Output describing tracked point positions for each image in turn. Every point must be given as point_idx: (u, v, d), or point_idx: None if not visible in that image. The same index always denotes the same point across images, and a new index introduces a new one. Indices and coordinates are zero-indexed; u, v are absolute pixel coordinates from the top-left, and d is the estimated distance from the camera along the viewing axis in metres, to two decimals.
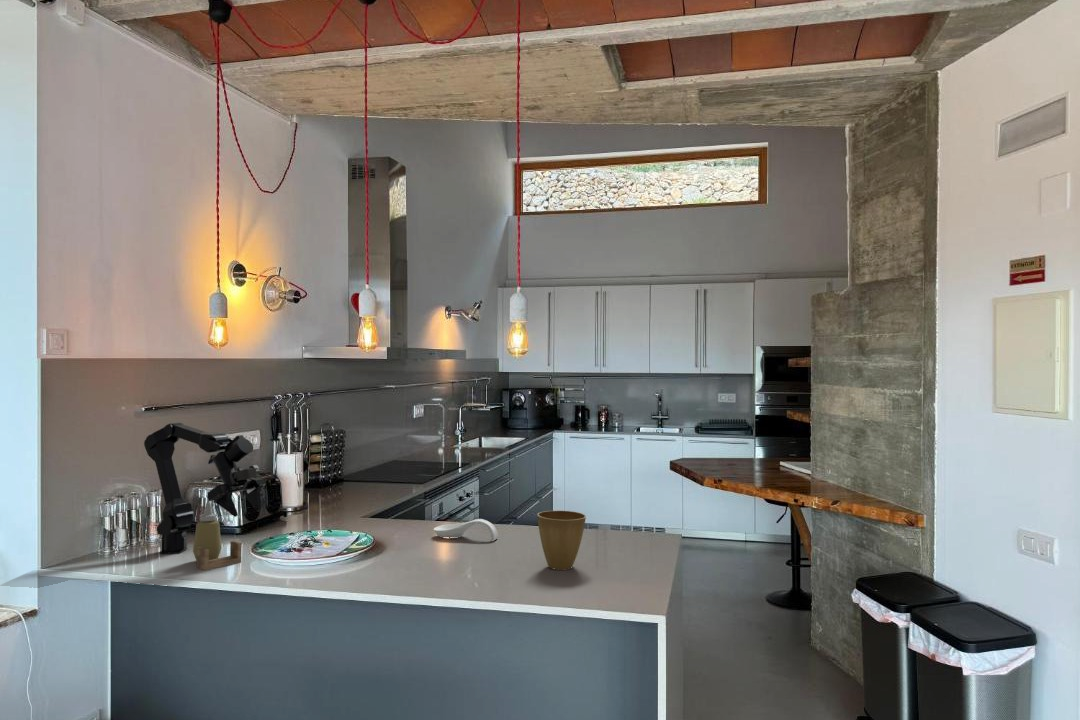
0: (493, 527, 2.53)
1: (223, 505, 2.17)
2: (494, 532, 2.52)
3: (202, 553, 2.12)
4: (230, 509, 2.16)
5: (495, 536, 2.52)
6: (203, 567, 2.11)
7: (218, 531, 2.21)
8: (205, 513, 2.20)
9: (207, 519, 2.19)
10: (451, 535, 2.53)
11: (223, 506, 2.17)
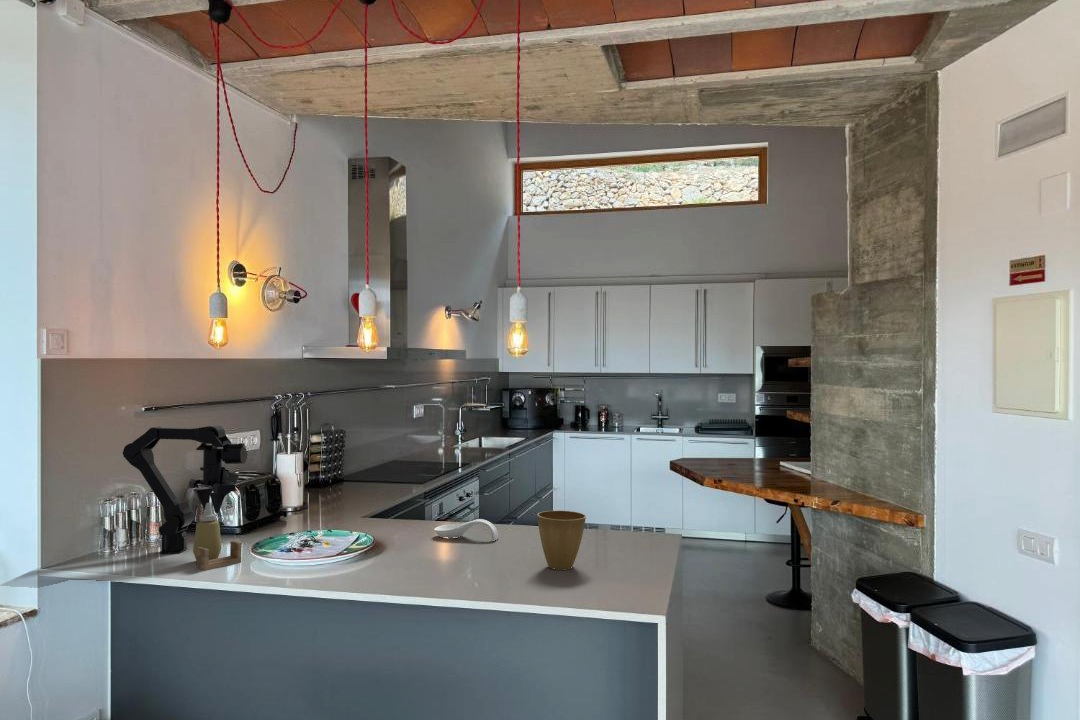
0: (494, 527, 2.53)
1: (215, 499, 2.29)
2: (495, 532, 2.52)
3: (202, 553, 2.12)
4: (218, 505, 2.31)
5: (496, 536, 2.52)
6: (203, 567, 2.11)
7: (218, 531, 2.21)
8: (205, 513, 2.20)
9: (207, 519, 2.19)
10: (451, 535, 2.52)
11: (215, 500, 2.29)
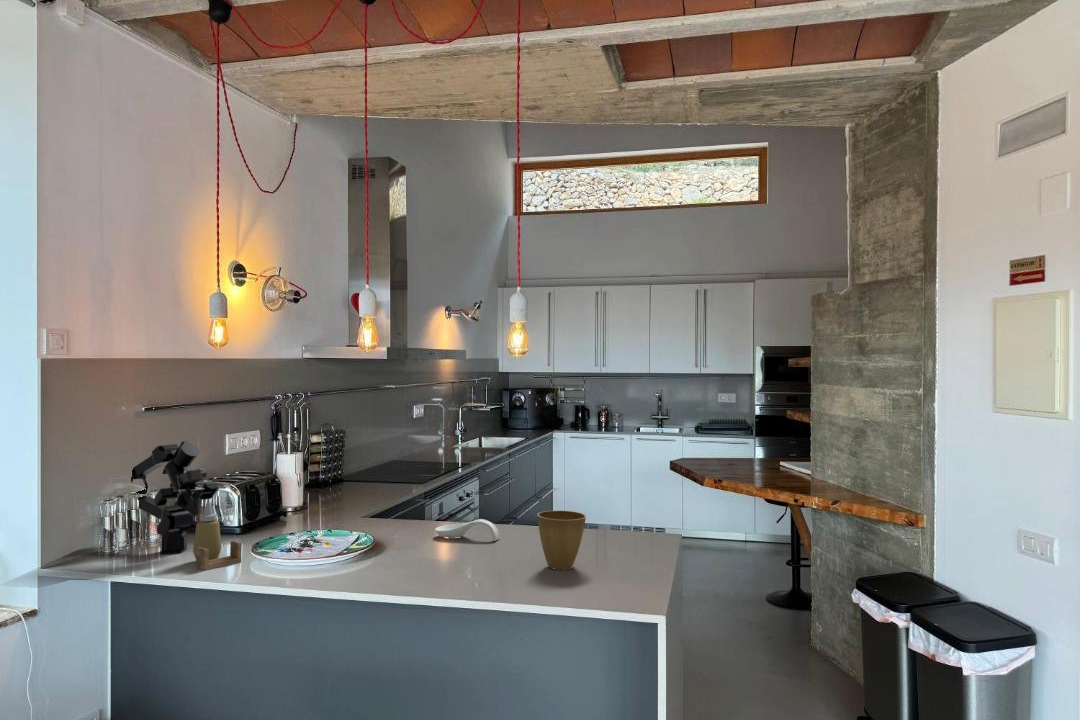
0: (494, 527, 2.53)
1: (184, 506, 2.26)
2: (495, 532, 2.51)
3: (202, 553, 2.12)
4: (190, 509, 2.25)
5: (496, 536, 2.51)
6: (203, 567, 2.11)
7: (218, 531, 2.21)
8: (205, 513, 2.20)
9: (207, 519, 2.19)
10: (452, 535, 2.52)
11: (184, 507, 2.26)
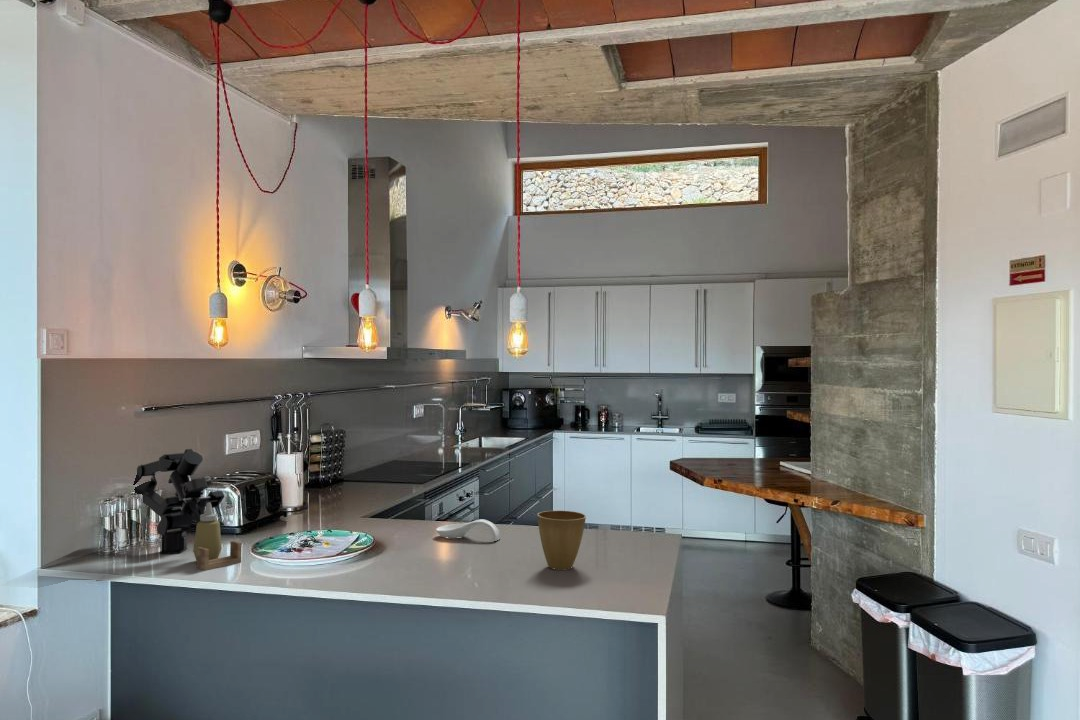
0: (495, 527, 2.53)
1: (189, 515, 2.24)
2: (496, 532, 2.51)
3: (202, 553, 2.12)
4: (195, 518, 2.23)
5: (497, 537, 2.51)
6: (203, 567, 2.11)
7: (218, 531, 2.21)
8: (205, 513, 2.20)
9: (207, 519, 2.19)
10: (453, 535, 2.52)
11: (189, 516, 2.24)
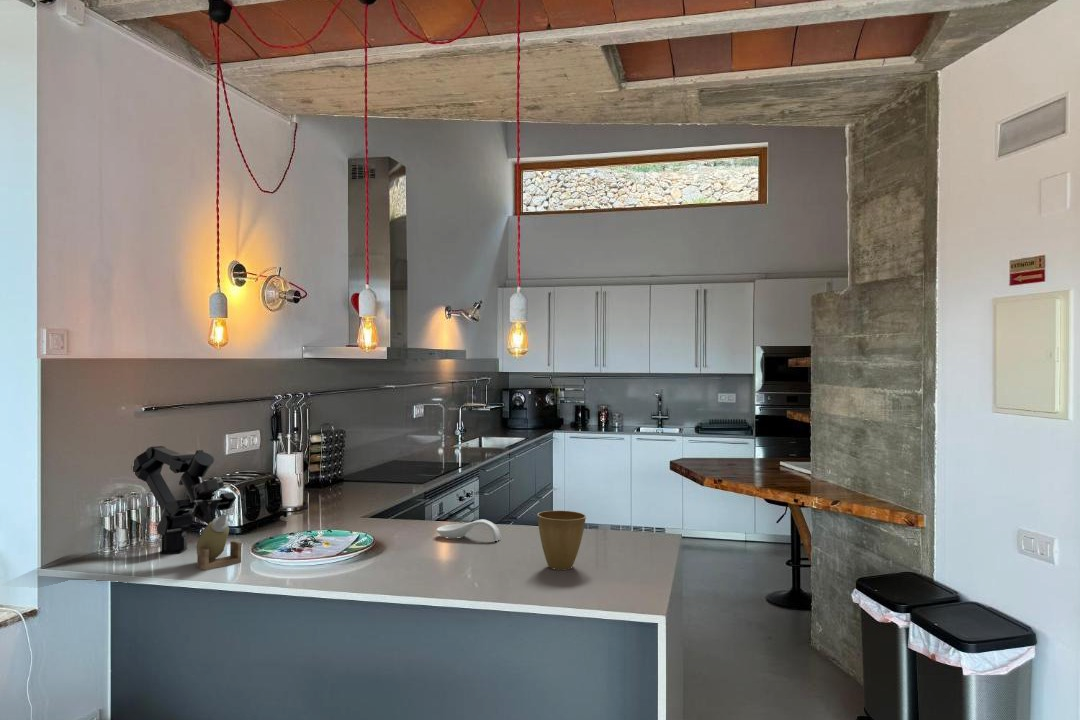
0: (495, 528, 2.52)
1: (201, 517, 2.20)
2: (496, 533, 2.51)
3: (202, 553, 2.12)
4: (207, 520, 2.19)
5: (497, 537, 2.51)
6: (203, 567, 2.11)
7: (225, 539, 2.17)
8: (218, 523, 2.13)
9: (218, 530, 2.13)
10: (453, 535, 2.52)
11: (201, 518, 2.20)
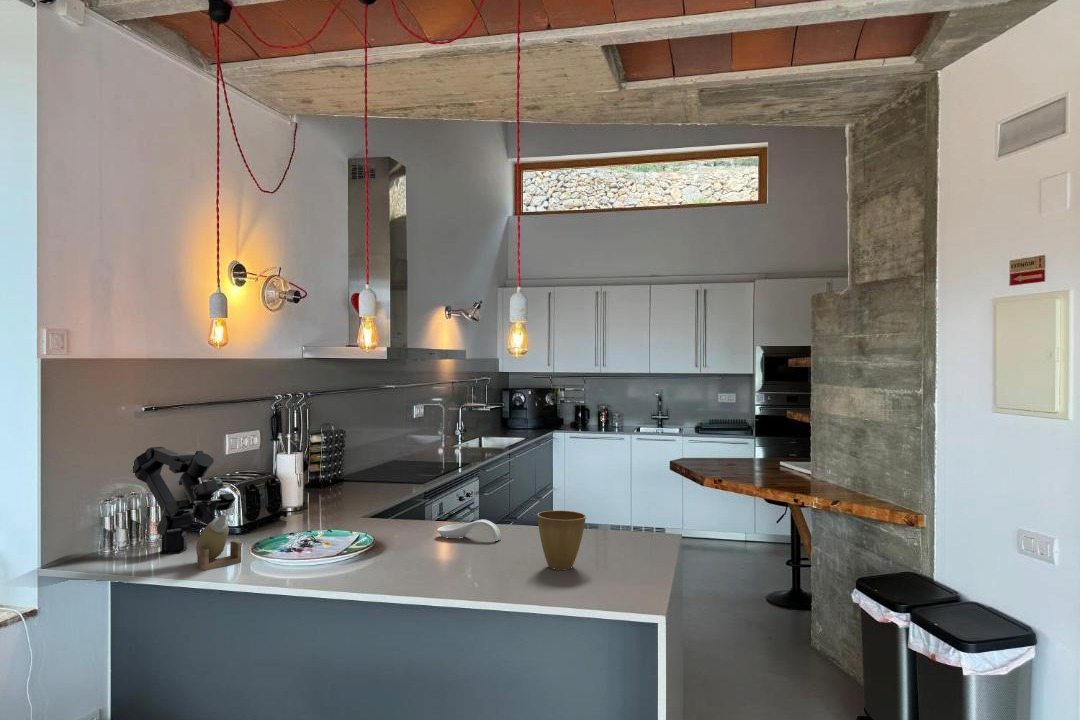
0: (496, 528, 2.52)
1: (200, 518, 2.20)
2: (497, 533, 2.51)
3: (202, 553, 2.12)
4: (206, 521, 2.19)
5: (498, 537, 2.51)
6: (203, 567, 2.11)
7: (225, 539, 2.17)
8: (218, 523, 2.13)
9: (218, 531, 2.13)
10: (454, 535, 2.52)
11: (200, 519, 2.20)
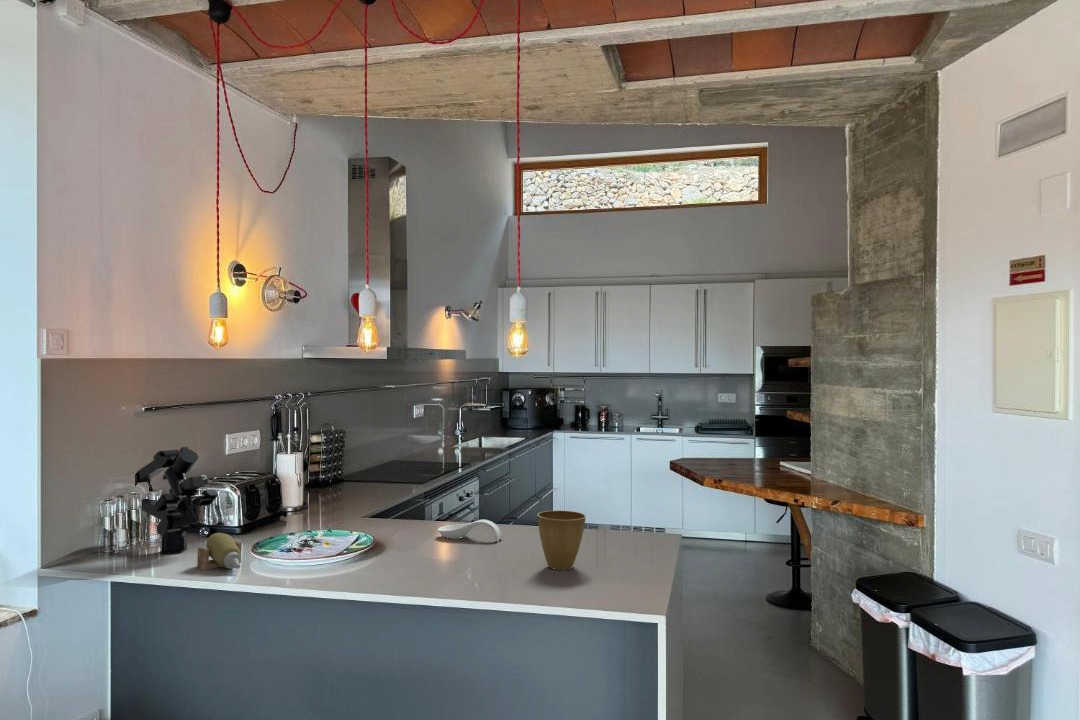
0: (497, 528, 2.52)
1: (184, 512, 2.26)
2: (498, 533, 2.51)
3: (202, 553, 2.12)
4: (190, 515, 2.26)
5: (499, 537, 2.51)
6: (203, 567, 2.11)
7: None
8: (230, 563, 2.09)
9: (226, 566, 2.10)
10: (455, 535, 2.52)
11: (184, 513, 2.26)
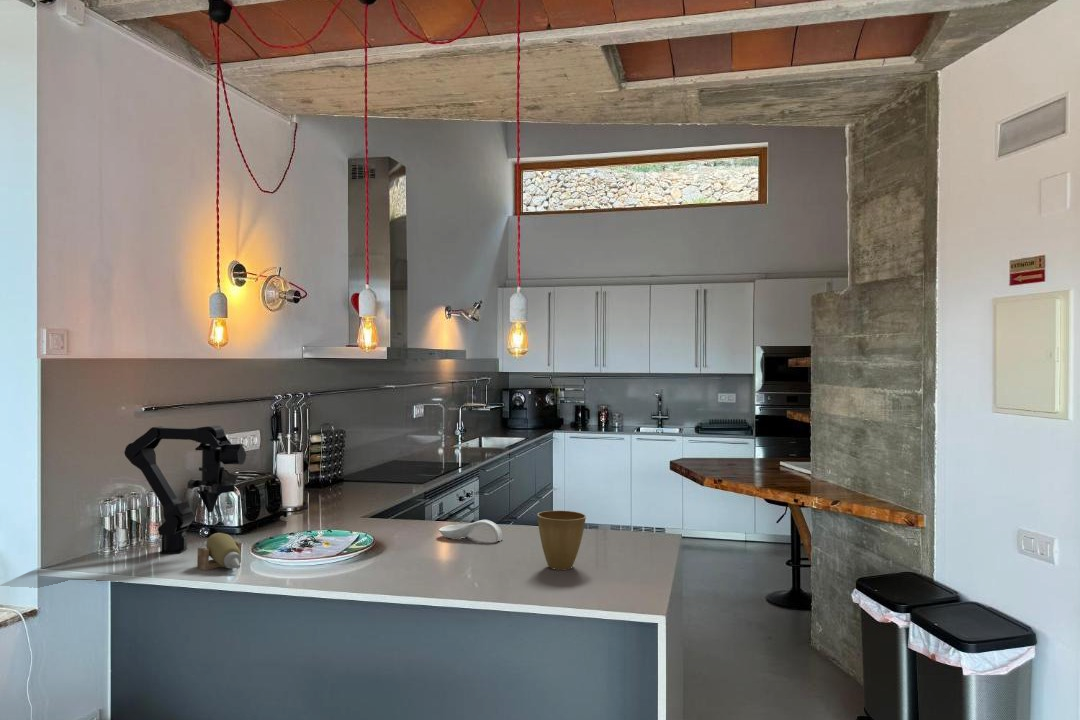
0: (498, 528, 2.52)
1: (209, 499, 2.30)
2: (498, 533, 2.50)
3: (202, 553, 2.12)
4: (212, 504, 2.31)
5: (499, 537, 2.50)
6: (203, 567, 2.11)
7: None
8: (230, 563, 2.09)
9: (226, 566, 2.10)
10: (456, 535, 2.52)
11: (208, 499, 2.30)
